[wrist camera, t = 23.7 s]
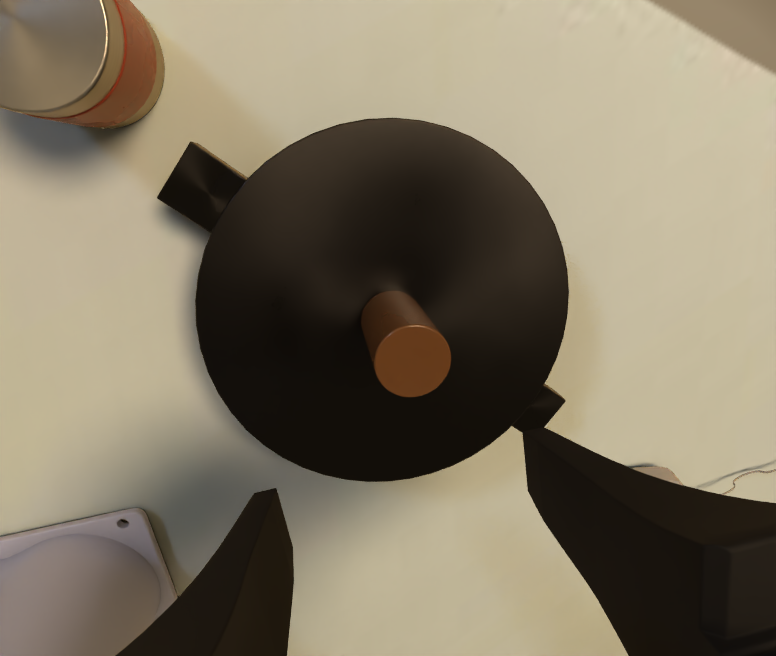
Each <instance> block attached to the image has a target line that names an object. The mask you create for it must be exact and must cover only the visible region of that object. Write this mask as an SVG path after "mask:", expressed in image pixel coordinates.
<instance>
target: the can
mask: <svg viewBox="0 0 776 656" xmlns="http://www.w3.org/2000/svg"><path fill="white" fill-rule="evenodd" d="M163 81H164V58H163V54H162V49H161V46H160V43H159V40H158V38H157V36H156V34H155V32H154V30H153V28H152V27H151V25H150V23H149V22H148V21H147V19H146V18H145V17H144V16H143V14H142V13H141V12H140V11H139V10H138V9H137V8H136V7H135V6H134V4H133V3H132V2H131V1H130V0H0V108H4V109H7V110H10V111H14V112H19V113H23V114H26V115H29V116H32V117H36V118H42V119H47V120H53V121H58V122H63V123H69V124H74V125H80V126H85V127H98V128H118V127H122V126H126V125H129V124H131V123H134V122H135V121H137V120H139V119H141V118H142V117H143V116H144V115H146V114H147V113H148V112H149V111H150V109H151V108H152V107H153V106H154V104H155V103H156V101H157V99H158V97H159V95H160V92H161V89H162V86H163Z"/></svg>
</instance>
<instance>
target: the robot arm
mask: <svg viewBox="0 0 776 656" xmlns="http://www.w3.org/2000/svg"><path fill="white" fill-rule="evenodd" d="M523 442H524V453H525V464H526V475H527V486H528V492H529V494H530V496H531V498H532V500H533V502H534V504H535V506H536V508H537V509H538V511H539V513H540V515H541V517H542V519H543V520H544V522H545V523H546V525H547V526H548V528H549V529H550V531H551V532H552V534H553V535H554V537H555V538H556V539H557V541H558V542H559V544H560V545H561V547H562V548H563V549H564V551H565V552H566V554H567V555H568V557H569V558H570V559H571V561H572V562H573V564H574V565H575V567H576V568H577V569H578V571H579V572H580V574H581V575H582V576H583V578H584V579H585V581H586V582H587V584H588V585H589V587H590V588H591V590H592V591H593V593H594V594H595V596H596V598H597V599H598V601H599V603H600V604H601V606H602V608H603V610H604V612H605V613H606V615H607V617H608V619H609V620H610V622H611V624H612V626H613V628H614V629H615V631H616V633H617V635H618V637H619V639H620V640H621V642H622V644H623V646H624V648H625V650H626V652H627V653H628V655H629V656H776V503H769V502H761V501H754V500H748V499H742V498H737V497H731V496H726V495H721V494H716V493H711V492H707V491H703V490H699V489H695V488H691V487H687V486H683V485H679V484H676V483H672V482H669V481H666V480H663V479H660V478H657V477H654V476H651V475H648V474H645V473H642V472H640V471H637V470H634V469H632V468H629V467H627V466H624V465H622V464H620V463H617V462H615V461H612V460H610V459H608V458H606V457H603V456H601V455H599V454H597V453H595V452H593V451H591V450H589V449H587V448H585V447H582V446H580V445H578V444H576V443H574V442H572V441H570V440H568V439H566V438H564V437H563V436H561V435H559V434H557V433H554V432H552V431H550V430H548V429H546V428H544V427H541V428H536V429H532V430H528V431H523ZM120 519H125V520H127V521H128V523H124V522H122V521H121V520H120ZM293 584H294V569H293V546H292V542H291V539H290V535H289V532H288V528H287V525H286V521H285V517H284V514H283V510H282V507H281V503H280V500H279V496H278V493H277V489H276V488H274V489H270V490H265V491H261V492H257V493H254V494H253V496H252V497H251V499H250V500H249V502H248V503H247V505H246V507H245V508H244V510H243V511H242V513H241V515H240V516H239V518H238V519H237V521H236V522H235V524H234V526H233V527H232V529H231V530H230V532H229V533H228V535H227V536H226V538H225V539H224V541H223V542H222V543H221V545H220V546H219V548H218V549H217V551H216V552H215V553H214V555H213V556H212V557H211V559H210V560H209V561H208V563H207V564H206V565H205V567H204V568H203V569H202V571H201V572H200V573H199V574H198V576H197V577H196V578H195V579H194V580H193V582H192V583H191V584H190V585H189V586H188V587H187V588H186V589H185V591H184V592H183V593H182V594H181V595H180V596H179V597H178V596H177V594H176V591H175V588H174V586H173V583H172V581H171V578H170V575H169V573H168V570H167V567H166V565H165V562H164V559H163V557H162V554H161V551H160V549H159V546H158V544H157V541H156V538H155V536H154V533H153V530H152V528H151V525H150V522H149V520H148V517H147V515H146V513H145V511H143V510H142V509H139V508H131V509H126V510H122V511H117V512H113V513H108V514H103V515H99V516H94V517H90V518H85V519H80V520H76V521H71V522H67V523H62V524H58V525H53V526H48V527H44V528H39V529H35V530H30V531H25V532H21V533H16V534H12V535H7V536H3V537H0V656H287V648H288V638H289V627H290V617H291V607H292V596H293Z"/></svg>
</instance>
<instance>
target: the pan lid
mask: <svg viewBox="0 0 776 656" xmlns="http://www.w3.org/2000/svg"><path fill="white" fill-rule="evenodd" d="M568 296H569V289H568V275H567V266H566V262H565V257H564V252H563V247H562V244H561V241H560V238H559V235H558V232H557V230H556V227H555V224H554V222H553V220H552V218H551V216H550V214H549V212H548V210H547V208H546V206H545V204H544V203H543V201H542V200H541V198H540V197H539V196H538V194H537V193H536V191H535V190H534V188H533V187H532V186H531V184H530V183H529V182H528V181H527V180H526V179H525V178H524V177H523V175H522V174H521V173H520V172H519V171H518V170H517V169H516V168H515V167H514V166H513V165H512V164H511V163H509V162H508V161H507V160H506V159H504V158H503V157H502V156H501V155H499V154H498V153H497V152H496V151H494V150H493V149H491V148H490V147H488V146H486V145H485V144H483V143H481V142H479V141H478V140H476V139H474V138H473V137H471V136H468V135H466V134H463V133H461V132H458V131H456V130H453V129H451V128H449V127H446V126H441V125H437V124H433V123H429V122H425V121H421V120H411V119H401V118H379V119H364V120H359V121H354V122H349V123H343V124H339V125H336V126H333V127H330V128H327V129H324V130H321V131H318V132H315V133H313V134H311V135H309V136H307V137H305V138H303V139H301V140H299V141H297V142H295V143H293V144H291V145H289V146H287V147H286V148H285V149H283V150H282V151H280V152H279V153H277V154H276V155H275V156H273V157H272V158H270V159H269V160H267V161H266V162H265V163H264V164H263V165H262V166H261V167H260V168H258V169H257V170H256V171H255V172H254V173H253V174H252V175H251V176H250V177H249V178H248V179H247V180H246V181H245V182H244V183H243V184H242V186H241V187H240V188H239V189H238V191H237V192H236V193H235V194H234V196H233V197H232V198H231V199H230V201H229V202H228V203H227V205H226V207H225V209H224V210H223V212H222V214H221V215H220V217H219V219H218V220H217V222H216V224H215V226H214V228H213V230H212V233H211V235H210V238H209V240H208V242H207V245H206V247H205V250H204V254H203V258H202V262H201V265H200V269H199V273H198V280H197V290H196V299H195V305H196V327H197V332H198V338H199V344H200V349H201V352H202V355H203V358H204V362H205V365H206V368H207V371H208V373H209V375H210V377H211V379H212V381H213V383H214V385H215V388H216V390H217V392H218V394H219V395H220V397H221V398H222V400H223V401H224V403H225V404H226V406H227V407H228V408H229V410H230V411H231V413H232V414H233V415H234V416H235V417H236V419H237V420H238V421H239V422H240V423H241V424H242V425H243V426H244V428H245V429H246V430H247V431H248V432H249V433H251V434H252V435H253V436H254V437H255V438H256V439H258V440H259V441H260V442H261V443H262V444H263V445H265V446H266V447H268V448H269V449H271V450H272V451H274V452H275V453H277V454H278V455H280V456H281V457H283V458H285V459H287V460H289V461H291V462H293V463H295V464H297V465H299V466H301V467H303V468H306V469H309V470H312V471H314V472H317V473H320V474H323V475H327V476H332V477H336V478H341V479H345V480H355V481H365V482H377V481H395V480H403V479H410V478H415V477H419V476H423V475H427V474H431V473H434V472H437V471H439V470H442V469H445V468H447V467H450V466H453V465H455V464H457V463H459V462H461V461H463V460H465V459H467V458H469V457H471V456H472V455H474V454H476V453H477V452H479V451H480V450H482V449H483V448H485V447H486V446H488V445H490V444H491V443H492V442H493V441H495V440H496V439H497V438H498V437H499V436H501V435H502V434H503V433H504V432H506V431H507V430H508V429H509V428H510V427H511V426H512V425H513V424H514V423H515V422H516V421H517V420H518V419H519V418H520V416H521V415H522V414H523V413H524V412H525V411H526V409H527V408H528V407H529V405H530V404H531V403H532V402H533V400H534V399H535V398H536V396H537V394H538V393H539V391H540V390H541V388H542V386H543V385H544V383H545V381H546V380H547V378H548V376H549V373H550V371H551V369H552V367H553V365H554V363H555V360H556V358H557V355H558V352H559V349H560V346H561V342H562V339H563V335H564V330H565V325H566V319H567V312H568Z"/></svg>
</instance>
